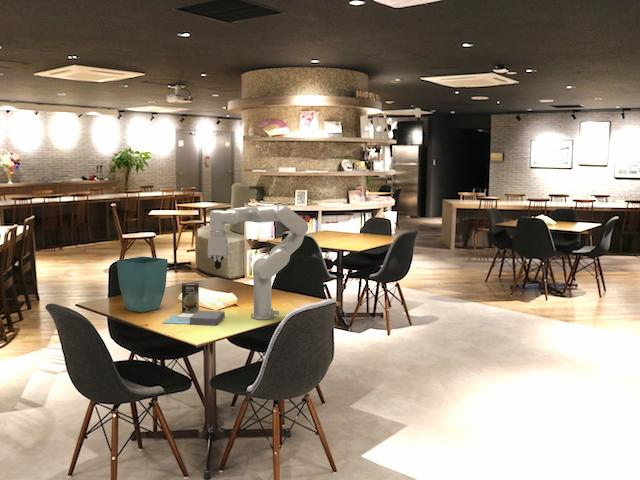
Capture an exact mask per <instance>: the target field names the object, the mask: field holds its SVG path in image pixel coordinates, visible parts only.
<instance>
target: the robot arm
mask: <svg viewBox="0 0 640 480" xmlns="http://www.w3.org/2000/svg"><path fill="white" fill-rule="evenodd" d="M241 222H242V223H243V222H252V223H269V222H271V223H272V222H280V223H282V224H283V226H285V227H286V228H288V230H289V232H288V234H287V236H286V237H285V238H284V239H283V240H282V241H280V242H279V243H278V244H277V245H275V246H274V247H273V248H271V250H270V251H269V256H267V257H266V258H264V257H263V258H262V257H261V258H258V259H256V260H255V261H254V263H253V266H252V277H253V313H251V314H250V318H251V319H253V320H261V321H262V320H265V321H266V320H271V319H273V318H275V315H277V316H279V315H280V311H279V310H274V309H273V307H272V277H274V276H275V275H276V274H277V273H279V272H280V271H281V270H282V269H283V268H285V267H286V266H287V265H288V264H289V262H290V260H291V259H290V258H291V256H292V254H293V253H294V252H296V251H297V250H298V249H299V248H300V247H301V245H302V243H303V241H304V238H305V235H306V234H307V233H308V231H309V224H308V222H307V221H306V220H305V219H303V218H302V217H301V216H300V215H299V214H297V213H296V212H295V211H294V210H292V209H291V208H290V207H288V206H287V205H284V204H276V205H275V204H274V205H263V206H262V205H261V206H252V207H251V206H250V207H248V206H247V207H233V208H228V209H227V210H222V209H212V210H210V212H209V228H210V229H209V235H208V240H207V241H208V242H207V258H209V259H211V260H212V261H213V262H214V268H215V270H220V269H221V268H222V261H223V260H224V259H228V258H229V255H228V254H229V244H228V242H229V241H228V238H227V236H226V235H228V234H229V233H228V231H226V228H225V227H226V225H237V224H238V223H241Z"/></svg>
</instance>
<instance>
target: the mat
mask: <svg viewBox="0 0 640 480" xmlns="http://www.w3.org/2000/svg"><path fill="white" fill-rule="evenodd" d="M179 315H180V314H173V315H171V316H169V317H168V318H166V319H165V320H164V321H162V324H170V325H171V324H172V325H191V324H190V321H177V316H179Z"/></svg>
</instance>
